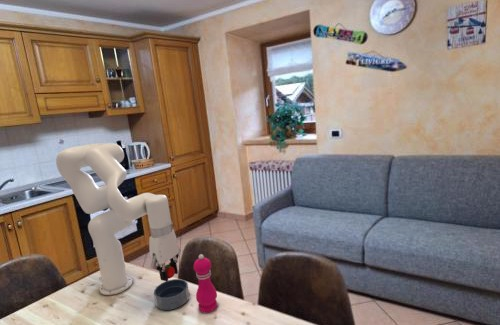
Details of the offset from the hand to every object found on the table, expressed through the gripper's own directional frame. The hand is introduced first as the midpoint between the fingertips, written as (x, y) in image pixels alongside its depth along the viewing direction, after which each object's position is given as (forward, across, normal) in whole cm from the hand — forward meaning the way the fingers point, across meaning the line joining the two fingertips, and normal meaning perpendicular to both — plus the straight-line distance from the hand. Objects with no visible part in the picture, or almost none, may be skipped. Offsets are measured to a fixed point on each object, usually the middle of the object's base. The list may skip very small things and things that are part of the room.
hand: (169, 276), depth 115 cm
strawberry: (+1, 0, 0) cm, 1 cm away
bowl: (+10, 0, 0) cm, 10 cm away
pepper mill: (+10, -2, +15) cm, 18 cm away
